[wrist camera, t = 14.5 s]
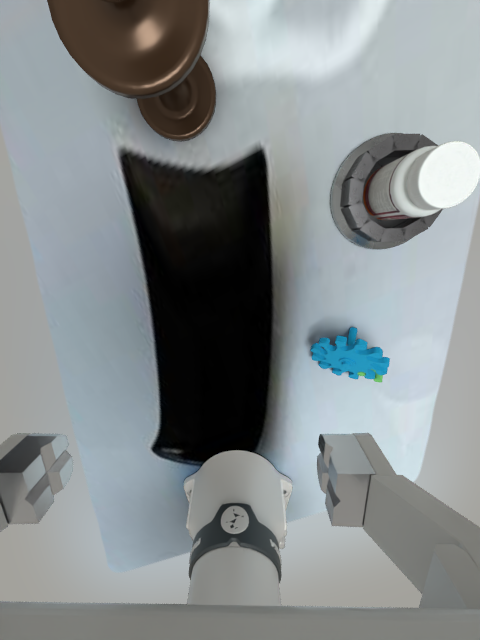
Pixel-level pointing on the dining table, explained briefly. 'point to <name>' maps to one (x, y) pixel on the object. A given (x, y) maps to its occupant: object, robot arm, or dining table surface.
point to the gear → (351, 357)
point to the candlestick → (145, 56)
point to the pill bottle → (422, 182)
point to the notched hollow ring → (350, 193)
